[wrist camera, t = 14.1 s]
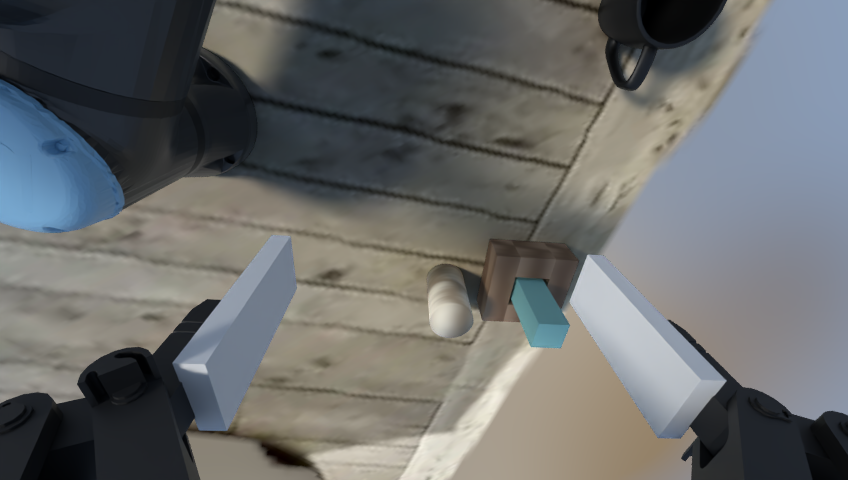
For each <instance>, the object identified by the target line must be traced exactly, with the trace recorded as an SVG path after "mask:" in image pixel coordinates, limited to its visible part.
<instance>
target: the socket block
mask: <svg viewBox="0 0 848 480" xmlns="http://www.w3.org/2000/svg"><path fill="white" fill-rule="evenodd" d="M578 263H579V260H578V259H577V258H576V256H575V255H574V254H573V253H572V252H571V250H570V249H569V248H568V247H567V246H566V244H561V243H546V242H530V241H514V240H499V239H490V241H489V245H488V250H487V255H486V259H485V264H484V269H483V273H482V278H481V283H480V287H479V292H478V296H477V303H478V307H479V310H480V314H481V317H482V320H483V321H506V322H520V320H519V317H518V315H517V312H516V310H515V308H514V305H513V303H512V300H511V298H510V295H511V292H512V288H513V284H514V281H515V277H522V278H540V279H543V281H544V282H545V284H546V286H547V287H548V289H549V291H550V293H551V294H552V296H553V298H554V299H555V301H556V303H557V304H558V306H559V308H560V309H561V308H562V305H563V303H564V300H565V297H566V295H567V292H568V289H569V287H570V284H571V281H572V279H573V276H574V273H575V271H576V268H577V266H578Z"/></svg>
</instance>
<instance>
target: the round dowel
mask: <svg viewBox="0 0 848 480" xmlns="http://www.w3.org/2000/svg"><path fill="white" fill-rule="evenodd" d="M427 291H428V304H429V318H430V326H431V329H432V330H433V331H434V332H435V333H436V334H437V335H439V336H442V337H446V338H454V337H458V336H461V335H463V334H465V333H466V332H468V331H469V330H470V328H471V327H472V325H473V315H472V311H471V307H470V303H469V299H468V295H467V290H466V286H465V282H464V278H463V274H462V272H461V270H460V269H459V268H458V267H456V266H454V265H451V264H440V265H437V266H435V267H434V268H432V269H431V270H430V272H429V273H428V275H427Z"/></svg>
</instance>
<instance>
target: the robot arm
mask: <svg viewBox="0 0 848 480" xmlns="http://www.w3.org/2000/svg"><path fill="white" fill-rule="evenodd" d="M215 2H216V0H0V222H1V223H4V224H7V225H10V226H13V227H16V228H21V229H25V230H30V231H36V232H45V233H61V232H69V231H74V230H78V229H82V228H84V227H87V226H89V225H92V224H94V223H97V222H99V221H102V220H106V219H110V218H113V217H114V216H116V215H117V214H119V212H120V211H122V210H123V209H125V208H127V207H128V206H130V205H132V204H134V203H136V202H138V201H140V200H141V199H143V198H145V197H147V196H149V195H151V194H153V193H154V192H156V191H158V190H160V189H162V188H164V187H166V186H167V185H169V184H171V183H173V182H175V181H177V180H179V179H180V178H182V177H209V176H215V175H218V174H222V173H224V172H227V171H229V170H230V169H232V168H234V167H235V166H237V165H238V164H240V163H241V162H242V161H243V160H244V159H245V158H246V157H247V156H248V155H249V153H250V152H251V150H252V148H253V146H254V143H255V140H256V134H257V119H256V113H255V109H254V106H253V103H252V100H251V98H250V95H249V93H248V91H247V90H246V88H245V86H244V85H243V83H242V82H241V80H240V79H239V78H238V76H237V75H236V74H235V73H234V72H233V70H232V69H231V68H230V67H229V66H228V65H227V64H225V63H224V62H223V61H222V60H221V59H219V58H218V57H217V56H215V55H214V54H212V53H211V52H209V51H207V50H205V49H204V48H202V45H203V42H204V39H205V35H206V32H207V29H208V26H209V22H210V19H211V16H212V12H213V9H214V6H215ZM296 289H297V286H296V278H295V269H294V261H293V252H292V244H291V236H279V235H272V236H271V237H270V238H269V239H268V241H267V242H266V243H265V245H264V246H263V247H262V249H261V250H260V251H259V252H258V254H257V255H256V256H255V258H254V259H253V260H252V261H251V263H250V264H249V265H248V267H247V268H246V269H245V270H244V272H243V273H242V274H241V276H240V277H239V278H238V279H237V281H236V282H235V283H234V285H233V286H232V287H231V288H230V290H229V291H228V292H227V294H226V295H225V296H224V297H223V299H222V300H210V299H207V300H205V301H204V302H202V303H201V304H199V305H198V306H196V307H195V308H193V309H192V310H191V311H190V312H189V313H188V314H187V316H186V317H185V318H184V319H183V320H182V323H180V324H179V325H178V326H177V327H176V328H175V330H174V331H173V333H171V334H170V335H169V336H168V338H167V339H166V340H165V341H164V342H163V343H162V345H161V346H160V347H159V348H158V349H157V350H156V351H155V353H154V354H153V355H152V354H151V353H150V352H149V350H147V349H144V348H141V347H132V348H125V349H121V350H117V351H114V352H111V353H109V354H107V355H105V356H103V357H101V358H99V359H98V360H96V361H95V362H93V363H92V364H90V365H89V366H88V367H87V368H86V369H85V370H84V371H83V373H82V374H81V375H80V377H79V380H78V383H77V385H78V386H79V388H80V390H81V391H82V393H83V394H84V396H85V397H86V398H82V399H77V400H73V401H68V402H64V403H59V404H56V403H55V402H54V400H53V399H52V398H51V397H50V396H49V395H48V394H46V393H39V392H36V393H30V394H23V395H20V396H18V397H15V398H12V399H9V400H6V401H4V402H3V403H1V404H0V480H200V477H199V474H198V470H197V467H196V463H195V460H194V457H193V453H192V450H191V447H190V443H189V440H188V437H187V434H186V431H187V429H188V428H189V426H190V424H191V423H192V421H193V419H195V421H196V424H197V426H198V429H199V430H211V431H227V430H228V428H229V426H230V424H231V422H232V420H233V418H234V416H235V414H236V412H237V409H238V407H239V405H240V403H241V401H242V399H243V397H244V395H245V393H246V391H247V389H248V387H249V385H250V383H251V381H252V379H253V377H254V375H255V373H256V371H257V369H258V367H259V365H260V363H261V360H262V358H263V356H264V354H265V352H266V350H267V348H268V346H269V344H270V342H271V340H272V338H273V336H274V334H275V332H276V330H277V328H278V326H279V324H280V322H281V320H282V318H283V316H284V314H285V312H286V309H287V307H288V305H289V303H290V301H291V299H292V297H293V295H294V293H295V291H296ZM570 304H571V305H572V307H573V308H574V310H575V312H576V313H577V315H578V316H579V318H580V319H581V321H582V322H583V324H584V325H585V327H586V328H587V330H588V331H589V333H590V335H591V336H592V338H593V339H594V341H595V342H596V344H597V345H598V347H599V348H600V350H601V351H602V353H603V354H604V356H605V358H606V359H607V361H608V362H609V364H610V365H611V367H612V368H613V370H614V371H615V373H616V375H617V376H618V378H619V379H620V380H621V382H622V384H623V385H624V387H625V388H626V390H627V391H628V393H629V394H630V396H631V397H632V399H633V400H634V402H635V404H636V405H637V407H638V408H639V410H640V411H641V413H642V414H643V416H644V418H645V419H646V420H647V422H648V424H649V425H650V427H651V428H652V430H653V431H654V433H655V434H656V436H657V438H681V437H682V436H683V435H684V433H685V432H686V431H687V430H688V428H689V427H691V428H692V429H693V431H694V432H695V433H696V435H697V436H698V437H697V438H696V439H695V441H694V442H693V443H692V444H691V446H690V447H689V448H688V449H687V450H686V451H685V452H684V454H683V456H682V458H681V459H682V460H684V461H686V460H687V459H688V457H689V456H692V476H691V480H848V415H845V414H843V413H839V412H834V411H827V412H825V413H823V414H822V415H821V416H820V417H819V418H818V419H817V420H816V421H814V420H811V419H807V418H804V417H800V416H797V415H794V414H791V413H790V411H788V409H786V407H785V406H783V405H782V404H781V403H779V402H778V401H777V400H775V399H774V398H772V397H770V396H768V395H767V394H765V393H763V392H760V391H758V390H755V389H752V388H744V387H742V386H741V385H740V384H739V383H738V382H737V381H736V380H735V379H734V378H733V377H732V376H731V375H730V374H729V373H728V372H727V371H726V370H725V369H724V368H723V367H722V366H721V365H720V364H719V363H718V362H717V361H716V360H715V359H714V358H713V357H712V356H711V355H710V354H709V353H706V351H705V350H704V348H703V347H702V346H701V345H699V344H697V343H696V340H695V339H694V338H692V337H691V335H690V334H688V332H686V331H685V330H684V329H683V328H681V327H680V326H678V325H677V324H675V323H674V322H672V321H671V320H666V319H665V317H664V316H663V315H662V314H661V313H660V312H659V311H658V310H657V309H656V308H655V307H654V306H653V305H652V304H651V303H650V302H649V301H648V300H647V299H646V298H645V297H644V296H643V295H642V294H641V293H640V292H639V291H638V290H637V289H636V288H635V287H634V286H633V285H632V284H631V283H630V282H629V281H628V280H627V279H626V278H625V277H624V276H623V274H622V273H621V272H620V271H619V270H617V268H616V267H614V265H613V264H612V263H611V262H610V261H609V260H608V259H607V258H606V257H605V256H604V255H587V258H586V260H585V263H584V266H583V268H582V271H581V273H580V276H579V278H578V281H577V284H576V286H575V289H574V291H573V294H572V296H571V299H570Z"/></svg>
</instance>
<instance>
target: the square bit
mask: <svg viewBox="0 0 848 480" xmlns="http://www.w3.org/2000/svg"><path fill="white" fill-rule="evenodd" d="M510 298H511V300H512V303H513V305H514V308H515V310H516V312H517V315H518V317H519V320H520V322H521V324H522V327H523V329H524V332H525V334H526V336H527V339H528V341H529V344H530V346H531V347H543V348H561V346H562V344H563V341H564V339H565V336H566V334H567V332H568V328H569V326H570V325H569V323H568V321H567V319H566V318H565V316H564V314H563V313H562V311H561V309H560V308H559V306H558V304H557V303H556V301H555V299H554V298H553V296H552V294H551V293H550V291H549V289H548V287H547V286H546V284H545V282H544V281H543V279H540V278H522V277H515V281H514V284H513V288H512V292H511V295H510Z"/></svg>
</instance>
